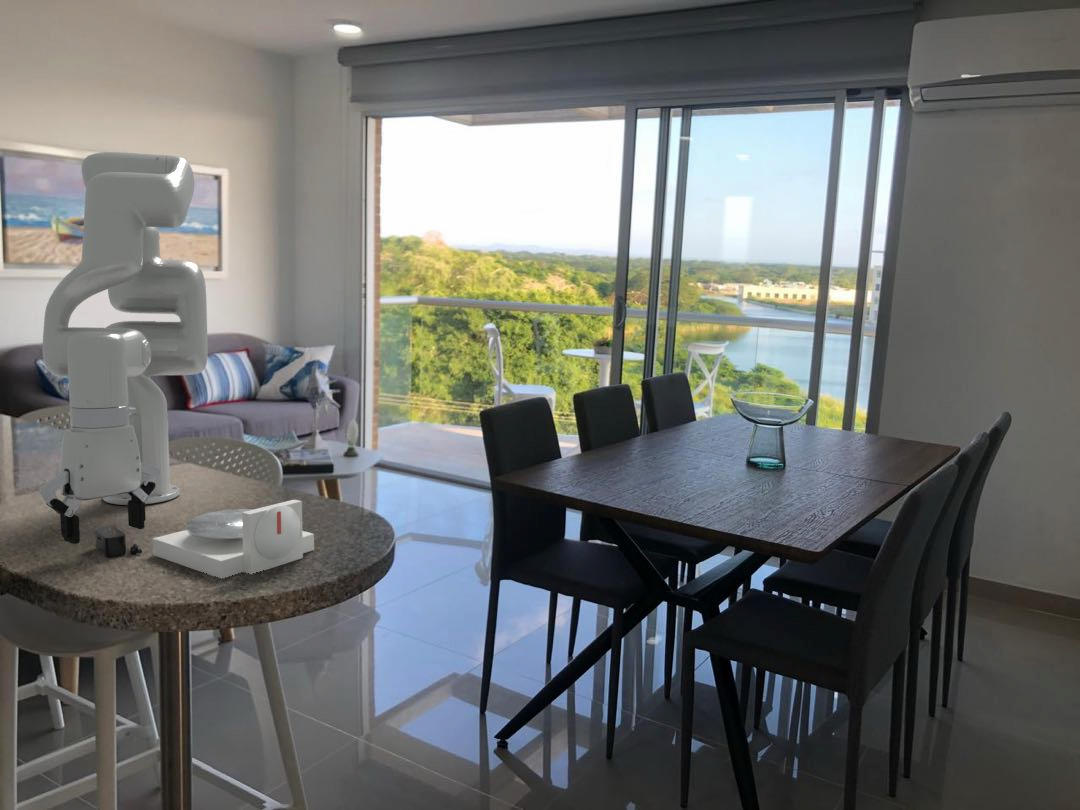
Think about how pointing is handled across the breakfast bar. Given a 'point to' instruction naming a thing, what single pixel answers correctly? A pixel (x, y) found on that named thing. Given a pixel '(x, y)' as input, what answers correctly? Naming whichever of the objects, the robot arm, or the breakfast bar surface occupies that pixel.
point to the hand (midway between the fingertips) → (105, 534)
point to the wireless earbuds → (113, 542)
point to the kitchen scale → (239, 540)
